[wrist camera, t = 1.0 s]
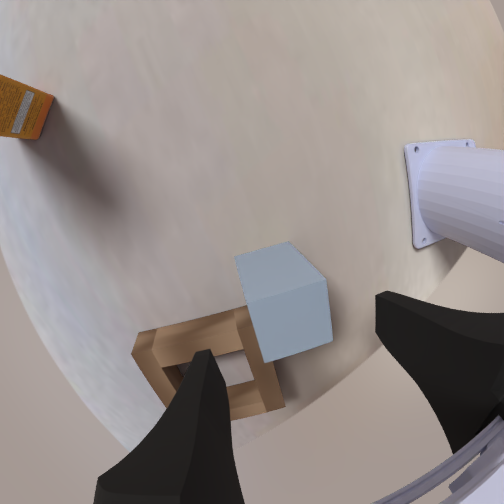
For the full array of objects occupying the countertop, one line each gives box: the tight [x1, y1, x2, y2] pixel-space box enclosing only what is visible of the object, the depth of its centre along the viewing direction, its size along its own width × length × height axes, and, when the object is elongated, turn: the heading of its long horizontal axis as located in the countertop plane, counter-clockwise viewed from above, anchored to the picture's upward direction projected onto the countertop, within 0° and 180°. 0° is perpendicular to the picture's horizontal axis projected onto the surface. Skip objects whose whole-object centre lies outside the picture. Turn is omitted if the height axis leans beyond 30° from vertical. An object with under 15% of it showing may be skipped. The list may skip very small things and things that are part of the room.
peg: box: [234, 241, 333, 363], centre depth 15 cm, size 4×4×6 cm
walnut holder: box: [131, 306, 286, 421], centre depth 18 cm, size 8×8×2 cm
